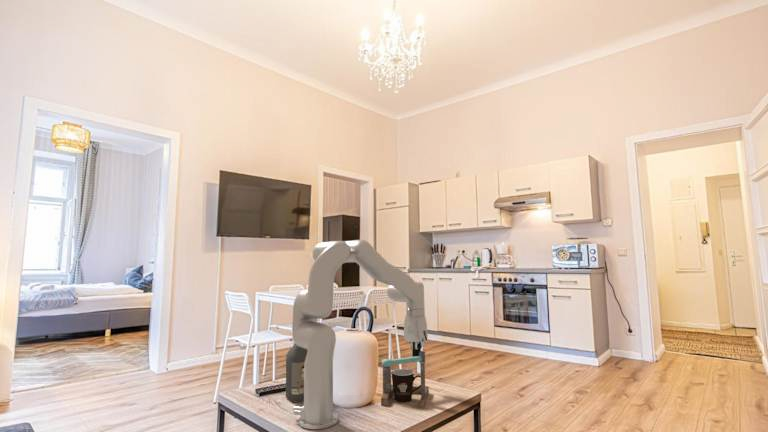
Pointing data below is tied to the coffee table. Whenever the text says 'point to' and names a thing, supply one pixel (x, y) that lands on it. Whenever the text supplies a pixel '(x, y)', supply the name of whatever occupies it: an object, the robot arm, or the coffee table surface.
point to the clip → (404, 360)
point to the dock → (422, 390)
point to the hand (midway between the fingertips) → (416, 358)
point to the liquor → (295, 373)
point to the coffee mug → (403, 384)
